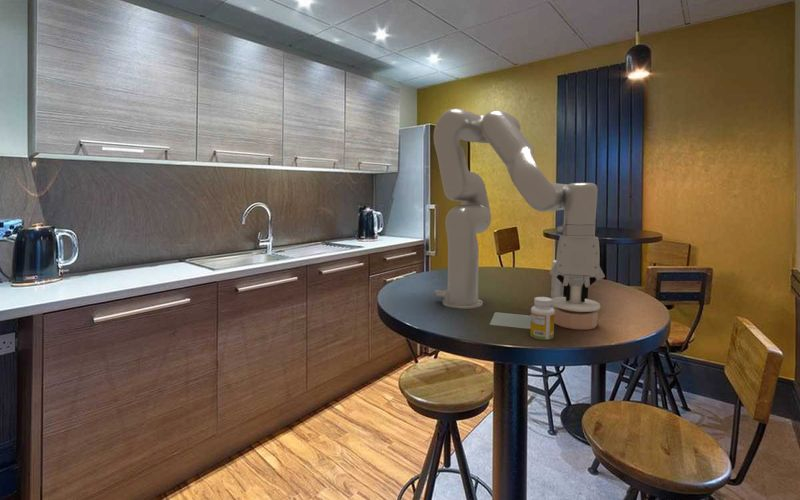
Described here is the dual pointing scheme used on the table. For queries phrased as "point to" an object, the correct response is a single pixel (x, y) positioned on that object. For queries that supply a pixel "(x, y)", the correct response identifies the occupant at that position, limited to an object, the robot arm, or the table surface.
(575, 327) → the bowl
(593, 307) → the lid
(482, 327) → the table surface
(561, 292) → the supplement tub
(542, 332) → the supplement bottle
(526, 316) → the mat
